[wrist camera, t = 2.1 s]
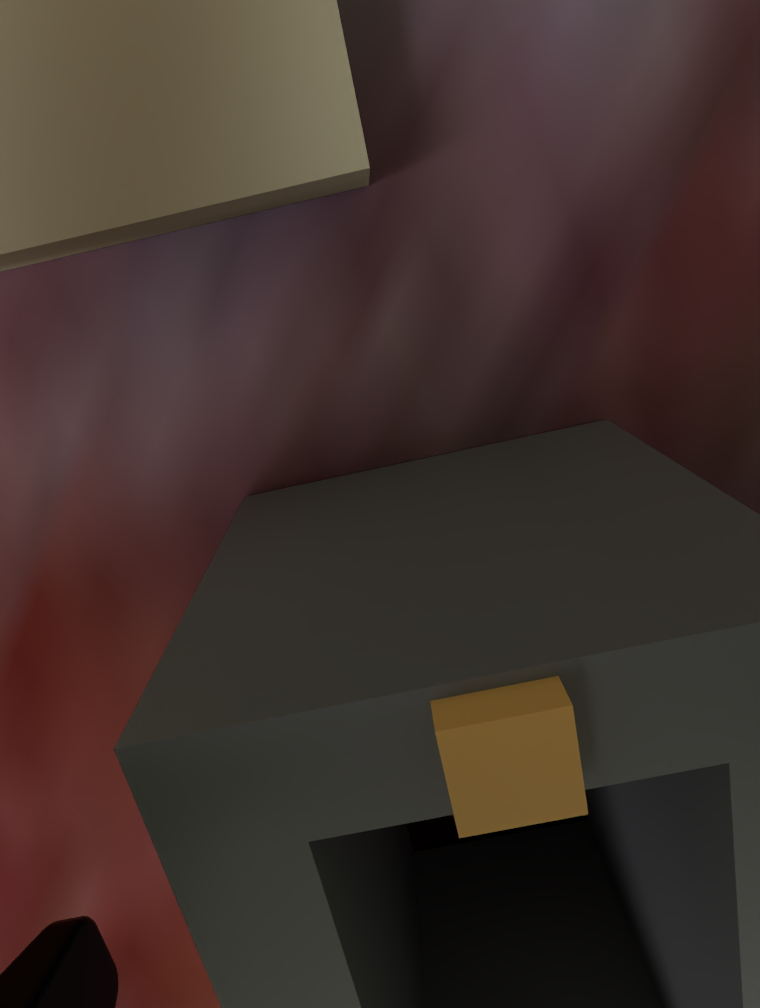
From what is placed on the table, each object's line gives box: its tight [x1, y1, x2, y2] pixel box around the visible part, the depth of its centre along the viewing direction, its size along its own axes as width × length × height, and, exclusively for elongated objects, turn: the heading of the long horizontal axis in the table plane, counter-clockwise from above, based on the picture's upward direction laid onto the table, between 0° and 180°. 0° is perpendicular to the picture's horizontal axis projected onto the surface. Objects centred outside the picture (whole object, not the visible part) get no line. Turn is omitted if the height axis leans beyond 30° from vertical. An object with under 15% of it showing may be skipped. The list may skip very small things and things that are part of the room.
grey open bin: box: [114, 419, 760, 1008], centre depth 8 cm, size 7×5×5 cm, turn 12°
